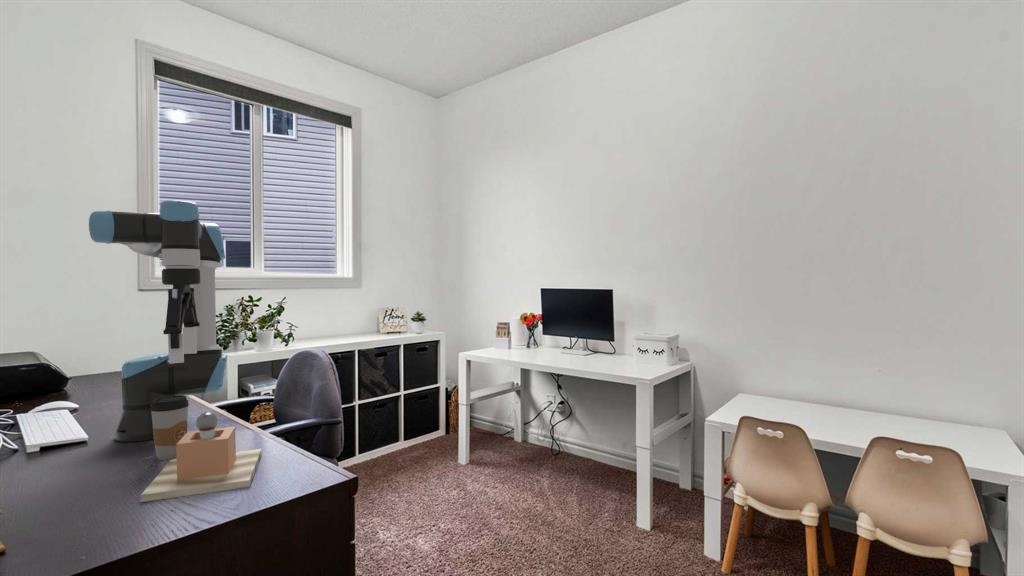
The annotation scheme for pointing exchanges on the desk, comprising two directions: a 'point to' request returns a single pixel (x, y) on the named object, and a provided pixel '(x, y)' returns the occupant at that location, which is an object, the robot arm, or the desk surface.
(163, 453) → the coffee cup
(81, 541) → the desk surface
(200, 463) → the open top tan bin
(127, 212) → the robot arm
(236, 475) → the wooden peg stand
